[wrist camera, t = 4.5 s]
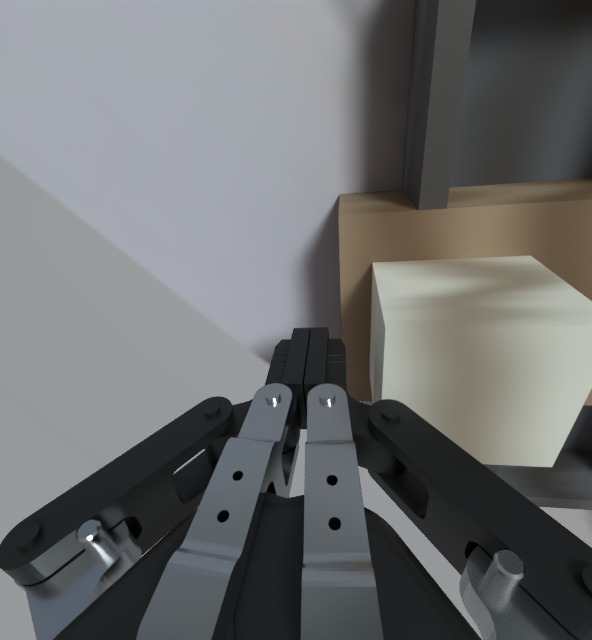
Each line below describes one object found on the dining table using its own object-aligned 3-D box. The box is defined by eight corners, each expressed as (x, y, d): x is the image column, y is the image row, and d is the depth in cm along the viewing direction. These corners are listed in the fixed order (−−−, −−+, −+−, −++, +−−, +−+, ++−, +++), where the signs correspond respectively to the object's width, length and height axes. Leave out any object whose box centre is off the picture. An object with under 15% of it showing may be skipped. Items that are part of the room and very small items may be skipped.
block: (530, 255, 13) (623, 325, 8) (496, 373, 16) (552, 467, 12) (372, 262, 14) (385, 328, 9) (369, 372, 17) (378, 459, 13)
